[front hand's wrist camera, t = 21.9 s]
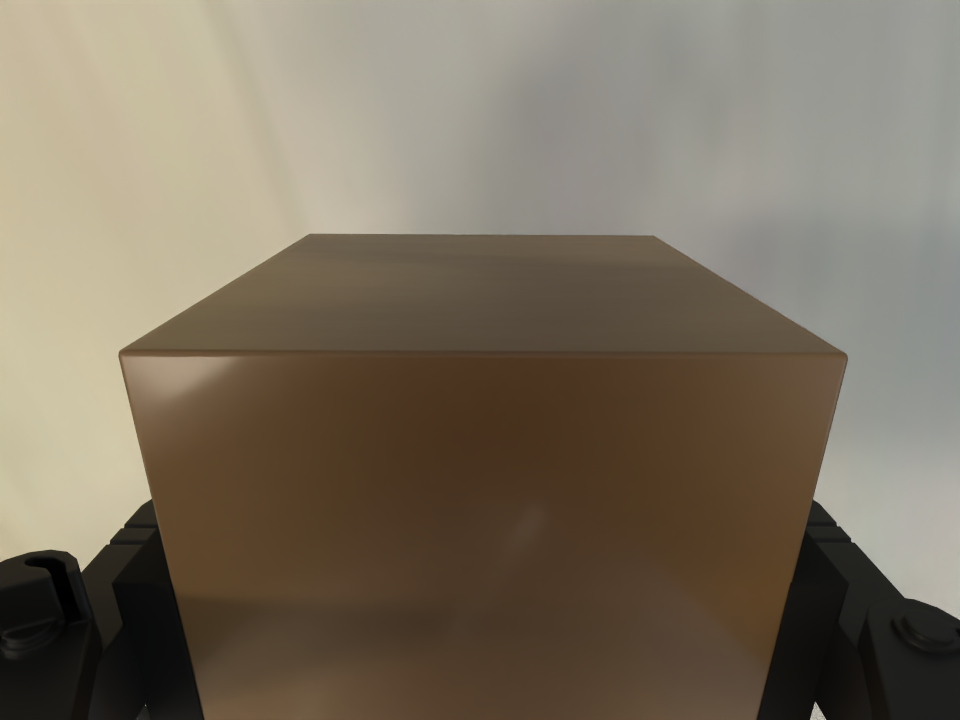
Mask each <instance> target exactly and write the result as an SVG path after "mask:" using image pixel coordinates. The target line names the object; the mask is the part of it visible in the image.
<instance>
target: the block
mask: <svg viewBox="0 0 960 720" xmlns="http://www.w3.org/2000/svg"><path fill="white" fill-rule="evenodd" d="M119 360H120V365H121V369H122V373H123V377H124V382H125V386H126V390H127V394H128V399H129V403H130V407H131V411H132V416H133V420H134V424H135V428H136V433H137V437H138V441H139V445H140V450H141V454H142V458H143V462H144V467H145V471H146V475H147V479H148V484H149V488H150V492H151V496H152V501H153V505H154V509H155V513H156V517H157V522H158V526H159V530H160V534H161V539H162V543H163V547H164V551H165V556H166V560H167V564H168V568H169V573H170V577H171V581H172V585H173V590H174V594H175V598H176V602H177V607H178V611H179V615H180V619H181V624H182V628H183V632H184V636H185V641H186V645H187V649H188V653H189V658H190V662H191V666H192V670H193V675H194V679H195V683H196V687H197V692H198V696H199V700H200V704H201V709H202V713H203V717H204V720H757V717H758V713H759V709H760V705H761V701H762V697H763V693H764V689H765V684H766V680H767V676H768V672H769V668H770V664H771V660H772V656H773V652H774V648H775V644H776V640H777V636H778V632H779V627H780V623H781V619H782V615H783V611H784V607H785V603H786V599H787V595H788V591H789V587H790V583H791V582H792V580H793V576H794V572H795V568H796V564H797V560H798V556H799V552H800V548H801V544H802V540H803V536H804V532H805V528H806V524H807V520H808V516H809V512H810V508H811V504H812V500H813V496H814V492H815V488H816V484H817V480H818V476H819V472H820V468H821V464H822V460H823V456H824V453H825V449H826V445H827V441H828V437H829V433H830V429H831V425H832V421H833V417H834V413H835V409H836V405H837V401H838V397H839V393H840V389H841V385H842V381H843V377H844V373H845V369H846V365H847V361H848V357H847V354H846V353H844V352H842V351H841V350H839V349H838V348H836V347H834V346H833V345H831V344H829V343H828V342H826V341H824V340H823V339H821V338H820V337H818V336H816V335H815V334H813V333H811V332H810V331H808V330H807V329H805V328H803V327H802V326H800V325H798V324H797V323H795V322H794V321H792V320H790V319H789V318H787V317H785V316H784V315H782V314H781V313H779V312H777V311H776V310H774V309H772V308H771V307H769V306H767V305H766V304H764V303H763V302H761V301H759V300H758V299H756V298H754V297H753V296H751V295H750V294H748V293H746V292H745V291H743V290H741V289H740V288H738V287H737V286H735V285H733V284H732V283H730V282H728V281H727V280H725V279H724V278H722V277H720V276H719V275H717V274H715V273H714V272H712V271H710V270H709V269H707V268H706V267H704V266H702V265H701V264H699V263H697V262H696V261H694V260H693V259H691V258H689V257H688V256H686V255H684V254H683V253H681V252H680V251H678V250H676V249H675V248H673V247H671V246H670V245H668V244H667V243H665V242H663V241H662V240H660V239H658V238H657V237H655V236H627V235H436V234H309V235H307V236H305V237H304V238H302V239H300V240H299V241H297V242H296V243H294V244H292V245H291V246H289V247H287V248H286V249H284V250H283V251H281V252H279V253H278V254H276V255H274V256H273V257H271V258H269V259H268V260H266V261H265V262H263V263H261V264H260V265H258V266H256V267H255V268H253V269H252V270H250V271H248V272H247V273H245V274H243V275H242V276H240V277H239V278H237V279H235V280H234V281H232V282H230V283H229V284H227V285H226V286H224V287H222V288H221V289H219V290H217V291H216V292H214V293H213V294H211V295H209V296H208V297H206V298H204V299H203V300H201V301H200V302H198V303H196V304H195V305H193V306H191V307H190V308H188V309H187V310H185V311H183V312H182V313H180V314H178V315H177V316H175V317H174V318H172V319H170V320H169V321H167V322H165V323H164V324H162V325H160V326H159V327H157V328H156V329H154V330H152V331H151V332H149V333H147V334H146V335H144V336H143V337H141V338H139V339H138V340H136V341H134V342H133V343H131V344H130V345H128V346H126V347H125V348H123V349H121V350H120V351H119Z"/></svg>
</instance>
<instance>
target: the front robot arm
mask: <svg viewBox="0 0 960 720" xmlns="http://www.w3.org/2000/svg"><path fill="white" fill-rule="evenodd" d="M815 701H816V703H817V705H818V706H819V708H820V710H821V711H822V713H823V715H824V717H825V718H826V720H960V620H959V619H957V618H955V617H953V616H952V615H950V614H948V613H946V612H944V611H943V610H941V609H939V608H937V607H934V606H931V605H929V604H926V603H923V602H920V601H917V600H914V599H907V598H904V597H903V596H902V595H901V593H900V592H899V591H898V590H897V589H896V588H895V587H894V586H893V585H892V583H891V582H890V581H889V580H888V579H887V578H886V577H885V576H884V575H883V574H882V572H881V571H880V570H879V569H878V568H877V567H876V566H875V565H874V564H873V562H872V561H871V560H870V559H869V558H868V557H867V556H866V555H865V554H864V553H863V551H862V550H861V549H860V548H859V547H858V546H857V545H856V544H855V543H852V542H851V538H850V537H849V536H848V535H847V534H846V533H845V532H844V530H843V529H842V528H841V527H837V524H836V522H835V520H834V519H833V518H832V517H831V516H830V515H829V514H828V513H827V512H826V511H825V509H824V508H823V507H822V506H821V505H820V504H819V503H817V502H816V501H814V500H812V504H811V508H810V512H809V516H808V520H807V524H806V528H805V532H804V536H803V540H802V544H801V548H800V552H799V556H798V560H797V564H796V568H795V572H794V576H793V580H792V582H791V583H790V587H789V591H788V595H787V599H786V603H785V607H784V611H783V615H782V619H781V623H780V627H779V632H778V636H777V640H776V644H775V648H774V652H773V656H772V660H771V664H770V668H769V672H768V676H767V680H766V684H765V689H764V693H763V697H762V701H761V705H760V709H759V713H758V717H757V720H810V717H811V714H812V710H813V707H814V703H815ZM145 703H146V705H147V707H146V706H145ZM0 720H204V717H203V713H202V709H201V704H200V700H199V696H198V692H197V687H196V683H195V679H194V675H193V670H192V666H191V662H190V658H189V653H188V649H187V645H186V641H185V636H184V632H183V628H182V624H181V619H180V615H179V611H178V607H177V602H176V598H175V594H174V590H173V585H172V581H171V577H170V573H169V568H168V564H167V560H166V556H165V551H164V547H163V543H162V539H161V534H160V530H159V526H158V522H157V517H156V513H155V509H154V505H153V501H152V499H151V500H150V501H148V502H146V503H145V504H143V505H142V506H141V507H140V508H139V509H138V510H137V511H136V512H135V513H134V515H133V516H132V517H131V518H130V519H129V520H128V521H127V522H126V523H125V525H124V528H121V529H120V530H119V531H118V532H117V533H116V535H115V536H114V537H113V538H112V539H111V540H110V544H109V545H106V546H105V547H104V548H103V549H102V550H101V551H100V552H99V554H98V555H97V556H96V557H95V558H94V559H93V560H92V561H91V562H90V564H89V565H88V566H87V567H86V568H85V569H84V570H83V571H82V572H81V571H80V568H79V565H78V562H77V559H76V558H75V557H73V556H72V555H71V554H69V553H68V552H64V551H56V550H45V551H37V552H29V553H26V554H23V555H20V556H16V557H13V558H10V559H7V560H4V561H2V562H0Z"/></svg>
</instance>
